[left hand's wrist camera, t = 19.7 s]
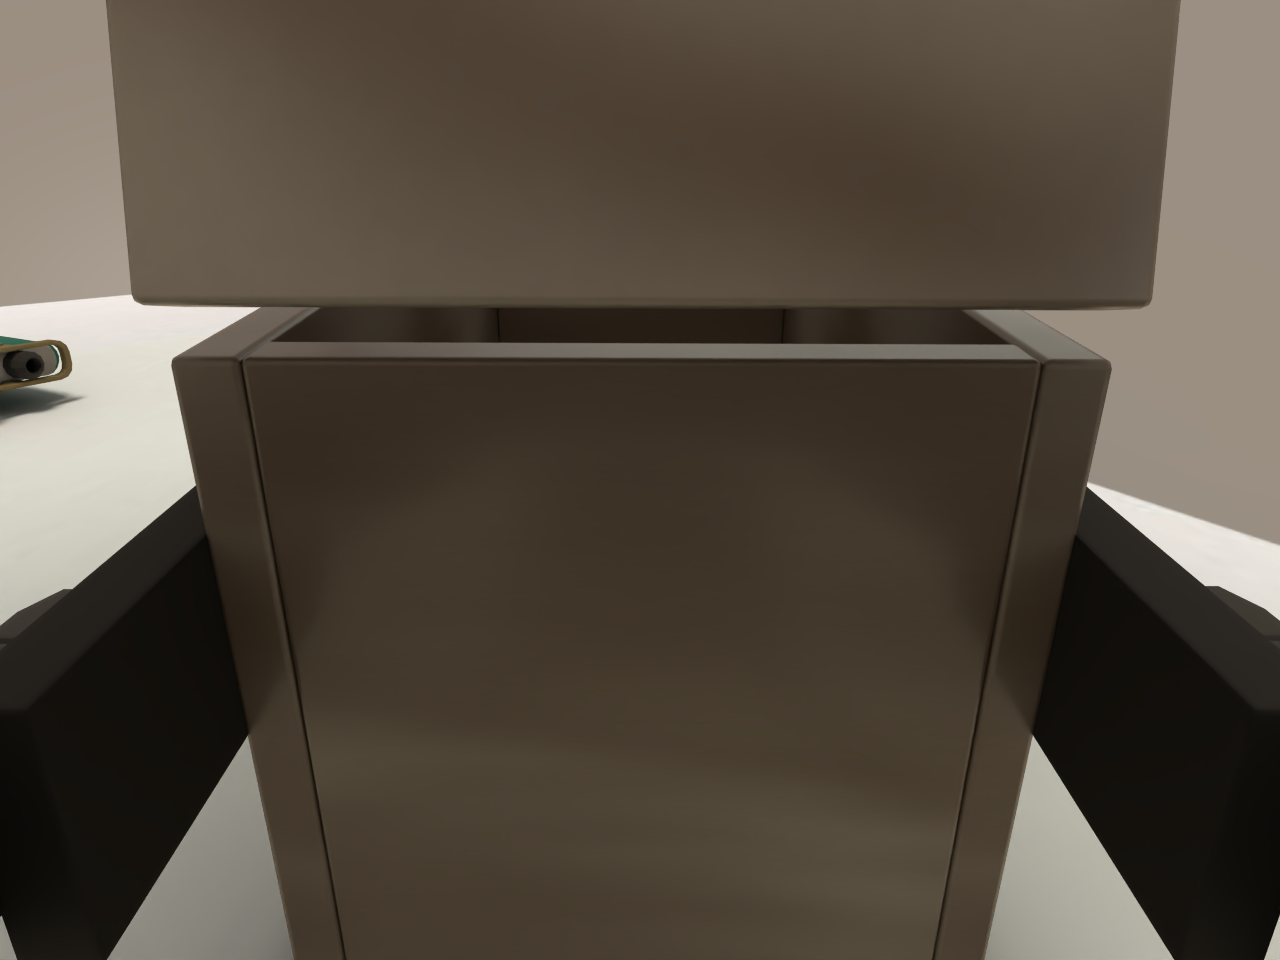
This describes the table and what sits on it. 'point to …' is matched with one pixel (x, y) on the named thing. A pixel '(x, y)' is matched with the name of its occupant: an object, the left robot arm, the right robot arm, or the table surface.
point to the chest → (640, 619)
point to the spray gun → (31, 362)
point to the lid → (643, 152)
